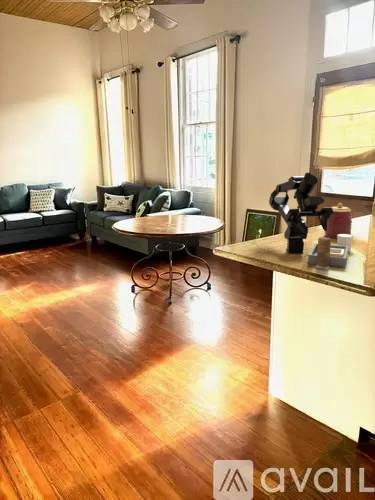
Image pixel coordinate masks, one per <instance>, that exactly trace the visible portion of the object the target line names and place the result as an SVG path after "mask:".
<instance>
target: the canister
mask: <svg viewBox="0 0 375 500" xmlns="http://www.w3.org/2000/svg"><path fill="white" fill-rule="evenodd" d="M331 207H332V209H333V211H334V212H333V214H332V215H331V216H330V218H329V219H328V220H327V231H324V237H327V238H331V239H337V235H338V234H350V235H352V225H353V224H352V222H353V220H352V217H353V215H354V214H353V213H352V209H351V208H349V207H348V206H344V205H343V203H342V202H339V203H337V206H331Z"/></svg>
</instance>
